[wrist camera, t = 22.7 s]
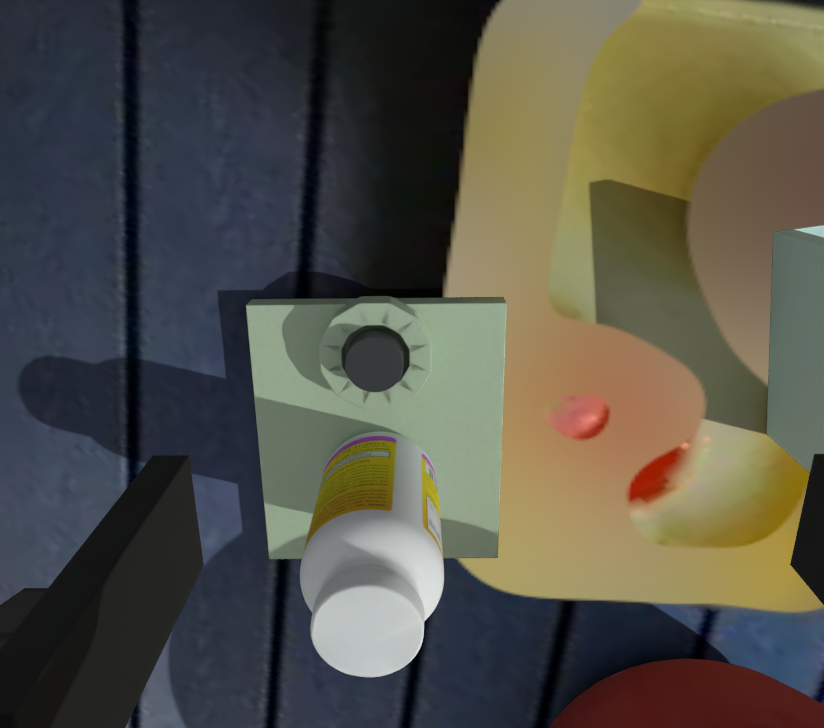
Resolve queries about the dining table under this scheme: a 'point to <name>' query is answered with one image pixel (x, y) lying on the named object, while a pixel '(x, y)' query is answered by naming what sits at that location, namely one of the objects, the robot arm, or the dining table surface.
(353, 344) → the button
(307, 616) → the dining table surface
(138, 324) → the dining table surface
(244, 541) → the dining table surface
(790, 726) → the mixing bowl
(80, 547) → the robot arm
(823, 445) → the right angle wall
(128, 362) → the dining table surface
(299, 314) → the scale
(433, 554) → the supplement bottle
